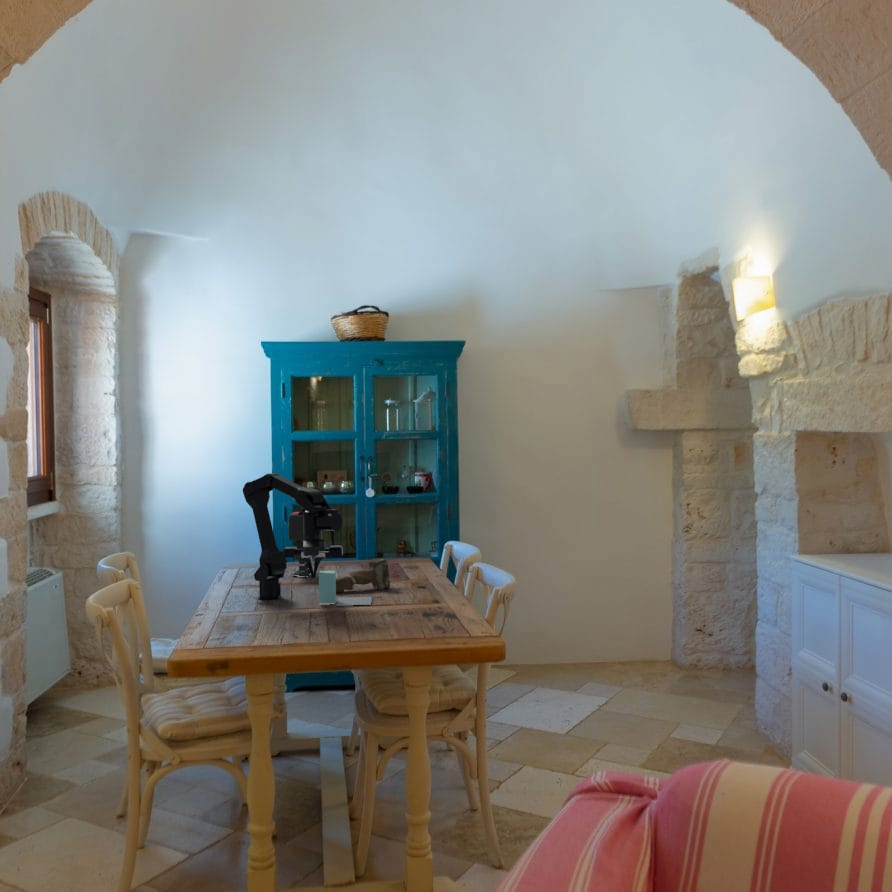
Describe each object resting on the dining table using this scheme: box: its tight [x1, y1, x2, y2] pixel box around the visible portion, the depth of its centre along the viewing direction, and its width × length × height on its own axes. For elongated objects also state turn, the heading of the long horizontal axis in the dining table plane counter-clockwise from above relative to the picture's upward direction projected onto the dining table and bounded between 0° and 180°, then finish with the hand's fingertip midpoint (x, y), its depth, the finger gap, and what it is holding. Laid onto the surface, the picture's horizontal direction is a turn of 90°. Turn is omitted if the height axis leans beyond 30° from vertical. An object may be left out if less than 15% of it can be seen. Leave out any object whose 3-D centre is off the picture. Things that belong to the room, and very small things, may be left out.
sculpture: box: [336, 557, 391, 593], centre depth 290 cm, size 8×22×15 cm
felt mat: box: [335, 596, 373, 607], centre depth 269 cm, size 11×12×1 cm
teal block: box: [318, 570, 337, 606], centre depth 268 cm, size 5×5×10 cm
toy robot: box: [287, 502, 313, 576], centre depth 322 cm, size 22×9×30 cm, turn 178°
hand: (313, 578), depth 268 cm, fingers closed
